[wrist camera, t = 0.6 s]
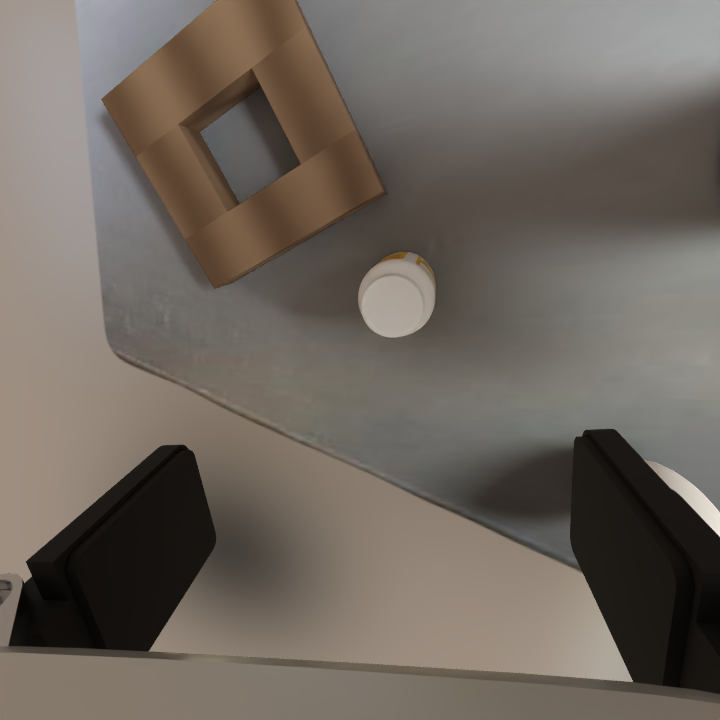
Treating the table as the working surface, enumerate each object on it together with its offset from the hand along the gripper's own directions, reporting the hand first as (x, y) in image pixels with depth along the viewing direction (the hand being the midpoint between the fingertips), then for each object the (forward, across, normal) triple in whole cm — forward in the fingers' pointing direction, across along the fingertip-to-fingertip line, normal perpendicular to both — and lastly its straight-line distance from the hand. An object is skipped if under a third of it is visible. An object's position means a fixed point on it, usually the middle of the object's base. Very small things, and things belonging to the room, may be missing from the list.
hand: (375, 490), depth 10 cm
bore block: (+27, +11, -13) cm, 32 cm away
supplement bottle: (+27, 0, -1) cm, 27 cm away
